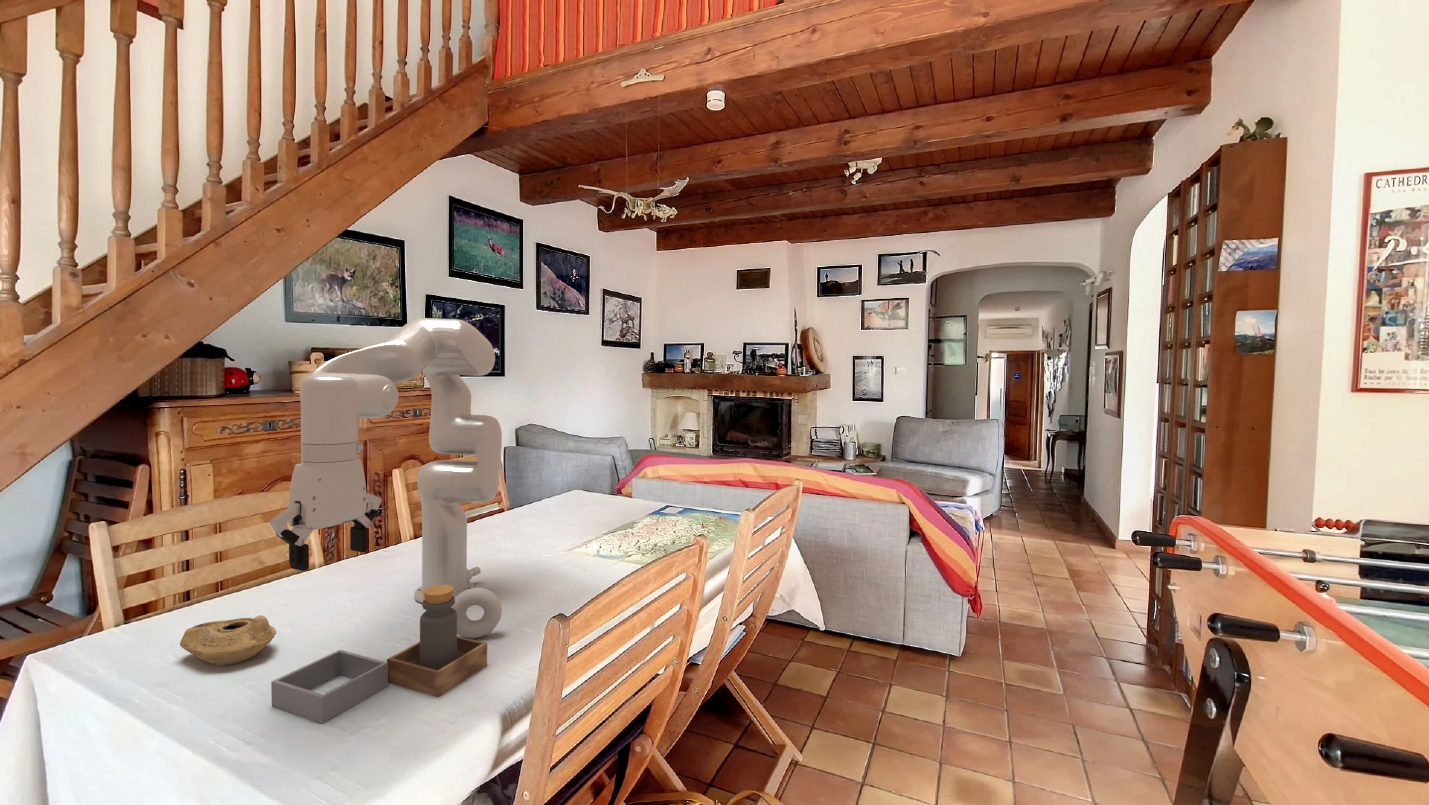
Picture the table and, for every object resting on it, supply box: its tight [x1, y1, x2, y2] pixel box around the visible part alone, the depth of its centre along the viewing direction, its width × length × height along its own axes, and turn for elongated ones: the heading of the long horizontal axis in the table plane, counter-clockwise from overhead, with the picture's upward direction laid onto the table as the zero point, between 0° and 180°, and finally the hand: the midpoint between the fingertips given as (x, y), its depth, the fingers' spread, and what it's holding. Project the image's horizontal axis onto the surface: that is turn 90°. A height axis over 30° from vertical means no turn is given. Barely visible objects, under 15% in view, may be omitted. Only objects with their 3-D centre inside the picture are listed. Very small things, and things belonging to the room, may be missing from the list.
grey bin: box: [270, 649, 389, 725], centre depth 93 cm, size 11×11×4 cm
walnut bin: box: [386, 635, 488, 697], centre depth 101 cm, size 11×11×4 cm
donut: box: [451, 587, 503, 639], centre depth 114 cm, size 10×4×10 cm, turn 106°
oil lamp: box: [179, 614, 277, 667], centre depth 103 cm, size 11×15×8 cm
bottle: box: [419, 585, 458, 670], centre depth 100 cm, size 6×6×15 cm
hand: (330, 559), depth 92 cm, fingers open, 9 cm apart
